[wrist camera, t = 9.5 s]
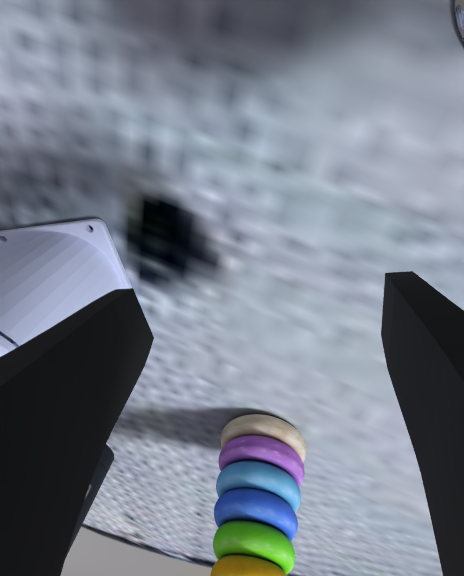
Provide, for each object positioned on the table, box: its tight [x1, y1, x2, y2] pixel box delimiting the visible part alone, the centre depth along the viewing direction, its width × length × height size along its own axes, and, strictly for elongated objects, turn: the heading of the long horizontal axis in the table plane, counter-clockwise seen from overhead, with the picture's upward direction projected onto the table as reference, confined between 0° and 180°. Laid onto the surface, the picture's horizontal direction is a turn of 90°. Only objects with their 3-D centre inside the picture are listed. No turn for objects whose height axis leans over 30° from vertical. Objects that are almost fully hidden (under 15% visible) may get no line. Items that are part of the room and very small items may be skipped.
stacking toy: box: [211, 414, 306, 576], centre depth 24 cm, size 8×8×19 cm
